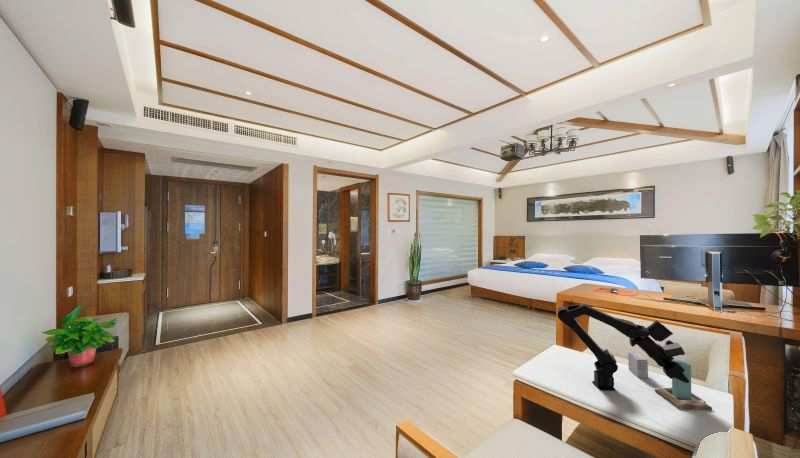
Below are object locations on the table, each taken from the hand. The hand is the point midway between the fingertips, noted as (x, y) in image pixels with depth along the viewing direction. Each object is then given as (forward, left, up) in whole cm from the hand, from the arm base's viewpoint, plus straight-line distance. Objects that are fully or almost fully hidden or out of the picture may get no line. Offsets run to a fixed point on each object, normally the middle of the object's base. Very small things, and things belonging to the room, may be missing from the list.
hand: (685, 379), depth 120 cm
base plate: (-1, 0, -9) cm, 9 cm away
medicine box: (-4, +21, -9) cm, 24 cm away
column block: (-1, 0, -7) cm, 7 cm away
